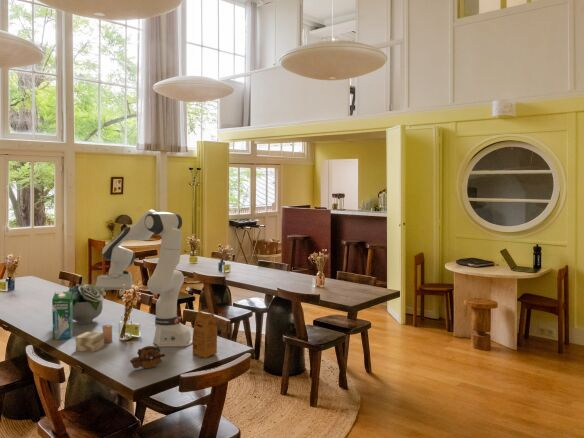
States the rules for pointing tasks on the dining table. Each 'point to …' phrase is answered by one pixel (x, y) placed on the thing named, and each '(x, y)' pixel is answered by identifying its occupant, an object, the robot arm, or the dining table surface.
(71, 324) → the milk carton
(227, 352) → the dining table surface
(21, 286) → the dining table surface
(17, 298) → the dining table surface
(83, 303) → the flower arrangement
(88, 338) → the beige patterned block
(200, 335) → the coffee package
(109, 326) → the brown upright cylinder
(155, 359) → the wooden carving
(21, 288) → the dining table surface
